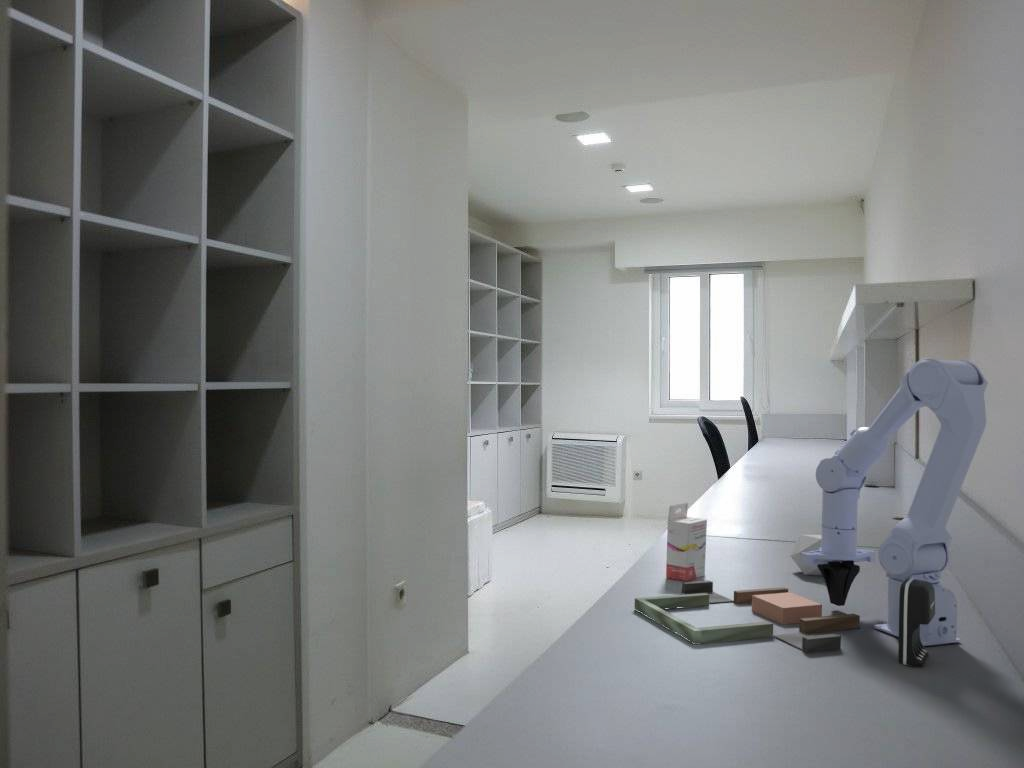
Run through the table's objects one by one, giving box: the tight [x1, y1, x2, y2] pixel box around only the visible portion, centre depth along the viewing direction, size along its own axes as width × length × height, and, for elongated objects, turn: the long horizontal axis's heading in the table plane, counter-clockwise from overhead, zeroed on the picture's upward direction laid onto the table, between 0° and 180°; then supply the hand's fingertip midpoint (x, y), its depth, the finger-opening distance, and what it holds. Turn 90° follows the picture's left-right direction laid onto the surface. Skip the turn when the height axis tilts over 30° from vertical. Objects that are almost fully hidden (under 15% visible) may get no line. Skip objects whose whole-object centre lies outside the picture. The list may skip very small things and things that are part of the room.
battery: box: [897, 578, 935, 668], centre depth 108 cm, size 7×4×11 cm, turn 143°
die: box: [790, 533, 822, 576], centre depth 161 cm, size 8×9×10 cm
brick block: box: [751, 591, 823, 625], centre depth 130 cm, size 8×8×3 cm
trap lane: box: [634, 580, 861, 654], centre depth 127 cm, size 34×31×2 cm
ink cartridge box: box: [665, 502, 708, 582], centre depth 155 cm, size 9×5×15 cm, turn 141°
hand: (837, 604), depth 133 cm, fingers closed
